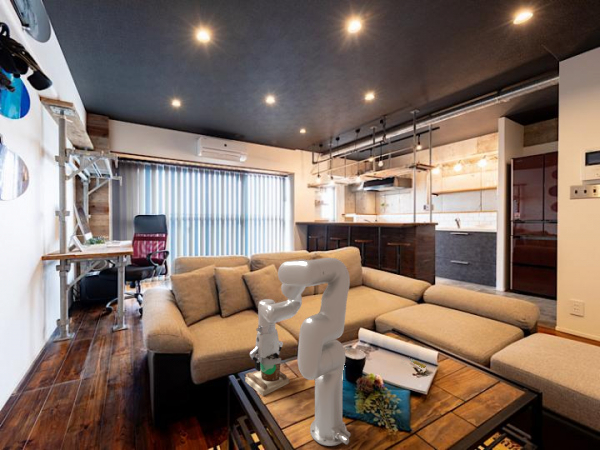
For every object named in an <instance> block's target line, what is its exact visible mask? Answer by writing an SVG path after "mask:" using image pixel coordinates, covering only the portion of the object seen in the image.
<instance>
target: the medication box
mask: <svg viewBox="0 0 600 450" xmlns="http://www.w3.org/2000/svg"><path fill="white" fill-rule="evenodd" d="M412 359H413V358H411V360H412ZM411 360H410V361H411ZM411 362H412V363H414V364H416V365H418V366H419V367H421V368H425V367H426V368H427V365H426V364H423V363H421V362H419V361H417V360H415V359H413V360H412V361H411Z"/></svg>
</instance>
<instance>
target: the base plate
mask: <svg viewBox="0 0 600 450" xmlns="http://www.w3.org/2000/svg"><path fill="white" fill-rule="evenodd" d="M244 380H245V381H244V382H245V383H246V384H247V385H249V386H250V387H251V388H252V389H254V390H255V391H256V392H257V393H258V394H259V395H261V396H262V397H264V396H266V395H268V394H270V393H272V392H274V391H276V390H278V389H280V388H282V387H284V386H287V385H288V384H290V378H289V377H287V375H286V374H285V373H284V372H282V371H280V376H279V380H277V381H265V380H263V379H262V376H261V370H260V371H256V372H254V373H253V372H248V373H247V376H245V377H244Z"/></svg>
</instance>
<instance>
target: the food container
mask: <svg viewBox="0 0 600 450" xmlns="http://www.w3.org/2000/svg"><path fill="white" fill-rule="evenodd" d="M259 362H260V371H261V376H262V379H263V380H265V381H277V380H279V376H280V372H281V364H282V358H281V357H279V358H276V357H275V356H273V354H272V355H269V356H266V357H264V358H262V357H261V359H260V361H259Z"/></svg>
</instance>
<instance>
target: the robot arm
mask: <svg viewBox="0 0 600 450" xmlns="http://www.w3.org/2000/svg"><path fill="white" fill-rule="evenodd" d="M277 277H278V280H279V282H280V283H281V287H280V290H281V293H282V295H283V296H284V297H286V298H287V300H284V301H280V302H275V300H273V299H271V298H270V299H268V298H264V299H261V300H259V301H258V306H257V308H258V309H257V310H258V311H257V313H258V315H257V316H258V319H257V320H258V321H257V322H258V323H257V328H256V329H255V330H256V337H255V348H253V349H252V350H251V351H250V352H249V356H250V358H251V360H253V361H254V369H255V370H256V372H258V371H261V365H260V359H261V357H262V358H264V357H266V356H269V355H273V356H275V357H276V358H280V357H279V356H280V353H281V350H282V348H283V345H284V342H283V341H280V340H279V334H278V330H277V329H276V323H279V322H282V321H286V320H290V319H291V318H293V317H294V316H295V315H297V314H298V312H299V310H300V309H301V307H302V303H303V297H302V294H303V293H304V291H305V289H306V287H313V286H319V285H324V284H327V285H326V288H324V289H325V290H324V291H323V293H322V296H321V301H320V309H319V312H318V313H316V314H313V315H312V314H311V315H310V316H307V318H305V319H304V320H303V321H302V323H301V325H300V328H299V335H298V346H297V347H298V348H297V366H298V370H299V372H300V374H301V376H302V377H303V378H304V379H306V380H309V381H313V380H314V420H313V421H312V422H311V424H310V428H309V430H310V431H309V433H310V435H311V437H312V439H313V440H314V442H315V441H316V442H317V443H318V444H320V445H322V446H326V447H327V446H328V447H333V446H337V445H340V444H345V445H349V443H350V437H351V432H349V431H348V429H347V427H346V422H345V421H343V387H344V386H343V384H344V383H343V382H344V381H343V370H344V365H345V363H346V350H345V347H344V345H343V343H341V342H340V341H339V340H338V339H339V338H340V337H341V336H342V335H343V334H344V330H345V325H346V324H345V322H346V313H347V301H348V295H349V291H350V285H351V283H350V282H351V279H350V278H351V277H350V272H349V270H348V267H347V266H346V264H345V263H344V262H343V261H342V260H340V259H338V258H336V257H335V258H334V257H323V258H318V259H304V258H303V259H302V258H301V259H293V260H287V261H284V262H283V263H281V265H280V266H279V267H278V270H277Z"/></svg>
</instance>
